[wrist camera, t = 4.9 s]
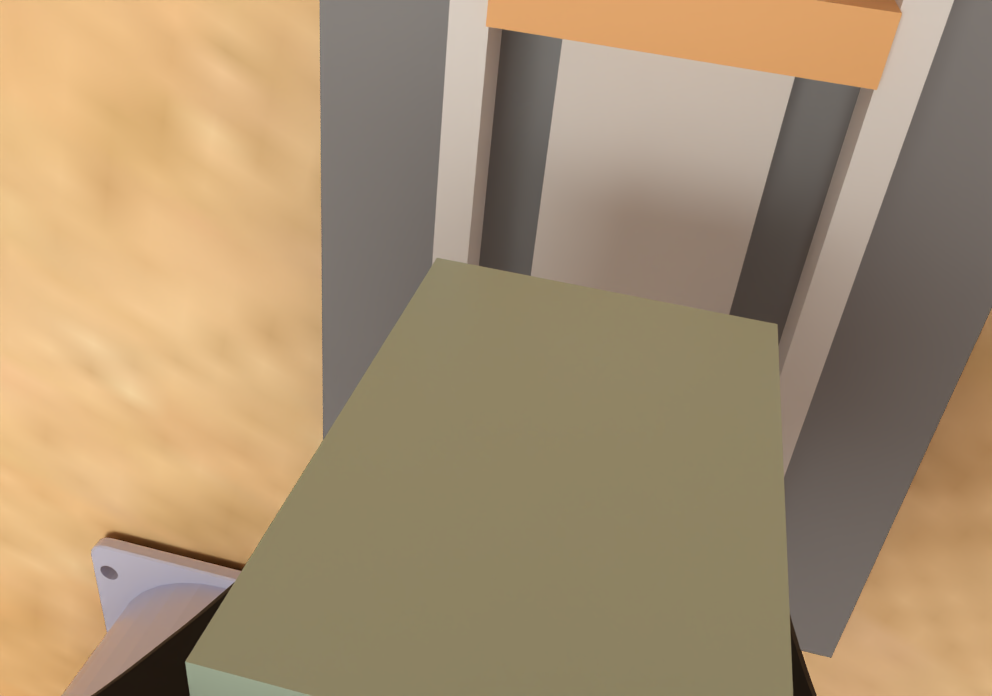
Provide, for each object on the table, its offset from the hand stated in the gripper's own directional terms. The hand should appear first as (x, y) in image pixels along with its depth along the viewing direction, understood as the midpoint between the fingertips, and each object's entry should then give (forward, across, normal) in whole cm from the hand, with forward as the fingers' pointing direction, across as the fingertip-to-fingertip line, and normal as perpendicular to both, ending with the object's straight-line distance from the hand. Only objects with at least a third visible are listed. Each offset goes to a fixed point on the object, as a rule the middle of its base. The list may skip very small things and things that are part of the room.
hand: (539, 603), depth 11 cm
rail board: (+9, 0, 0) cm, 9 cm away
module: (+2, 0, 0) cm, 2 cm away
